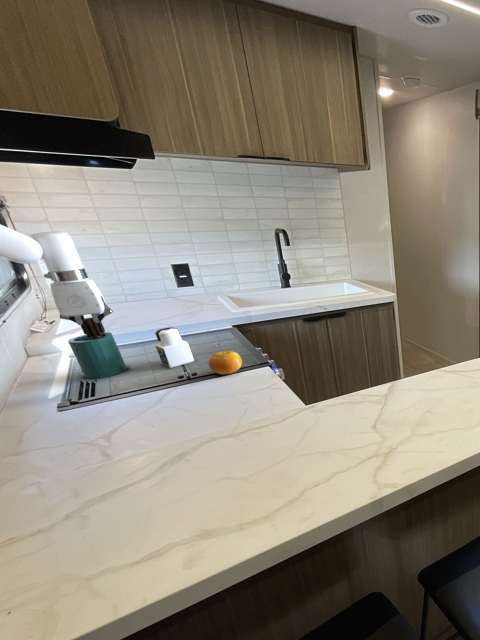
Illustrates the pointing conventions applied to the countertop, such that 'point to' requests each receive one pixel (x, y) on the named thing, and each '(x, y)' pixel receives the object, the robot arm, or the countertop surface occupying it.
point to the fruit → (225, 362)
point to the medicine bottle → (172, 348)
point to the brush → (92, 327)
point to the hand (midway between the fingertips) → (96, 335)
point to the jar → (97, 355)
